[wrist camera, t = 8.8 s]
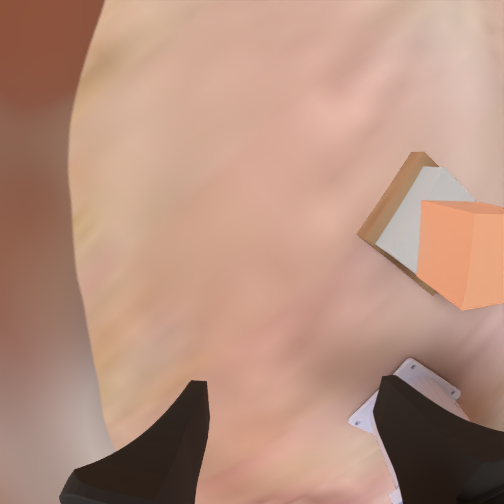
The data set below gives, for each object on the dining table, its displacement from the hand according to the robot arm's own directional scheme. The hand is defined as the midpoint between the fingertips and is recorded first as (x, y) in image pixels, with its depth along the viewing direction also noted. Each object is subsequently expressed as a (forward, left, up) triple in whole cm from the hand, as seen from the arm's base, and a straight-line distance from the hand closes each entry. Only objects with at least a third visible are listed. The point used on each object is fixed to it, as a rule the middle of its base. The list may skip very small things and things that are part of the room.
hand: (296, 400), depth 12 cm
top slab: (-5, -10, -9) cm, 14 cm away
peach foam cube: (-5, -10, -6) cm, 13 cm away
